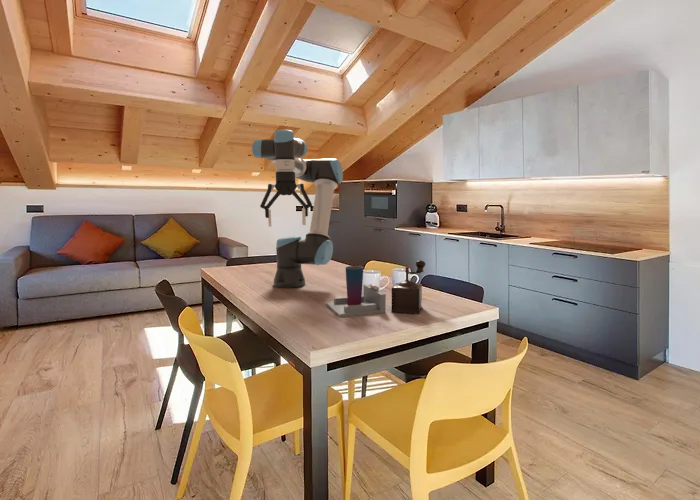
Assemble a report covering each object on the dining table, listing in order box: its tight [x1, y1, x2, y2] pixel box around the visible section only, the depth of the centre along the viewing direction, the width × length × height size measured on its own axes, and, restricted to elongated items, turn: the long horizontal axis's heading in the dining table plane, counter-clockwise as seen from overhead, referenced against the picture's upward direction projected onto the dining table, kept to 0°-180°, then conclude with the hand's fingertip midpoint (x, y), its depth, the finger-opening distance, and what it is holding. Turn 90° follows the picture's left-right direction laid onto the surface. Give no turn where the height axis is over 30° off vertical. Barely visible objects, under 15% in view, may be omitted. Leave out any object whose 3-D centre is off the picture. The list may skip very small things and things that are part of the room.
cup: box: [345, 265, 364, 305], centre depth 160 cm, size 7×7×15 cm
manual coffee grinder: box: [391, 260, 426, 315], centre depth 160 cm, size 16×11×18 cm
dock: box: [325, 283, 387, 318], centre depth 160 cm, size 18×18×9 cm
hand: (287, 225), depth 166 cm, fingers open, 13 cm apart
